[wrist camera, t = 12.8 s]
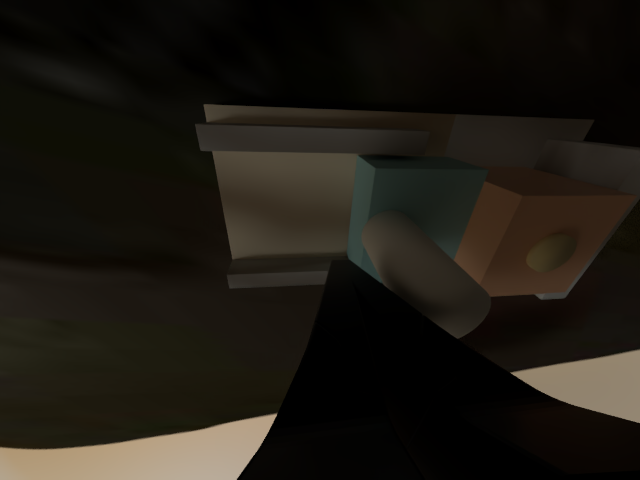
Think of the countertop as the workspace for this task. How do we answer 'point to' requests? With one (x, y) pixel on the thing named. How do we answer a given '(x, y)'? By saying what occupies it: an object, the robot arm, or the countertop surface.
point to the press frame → (340, 165)
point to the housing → (535, 230)
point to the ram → (419, 234)
